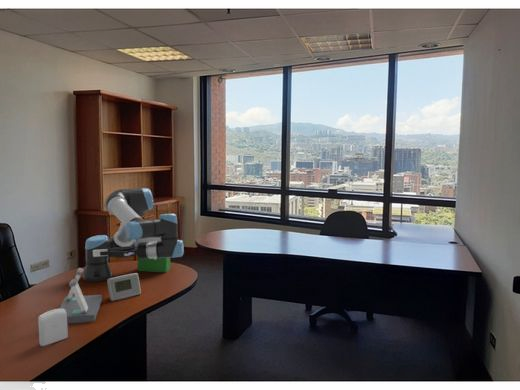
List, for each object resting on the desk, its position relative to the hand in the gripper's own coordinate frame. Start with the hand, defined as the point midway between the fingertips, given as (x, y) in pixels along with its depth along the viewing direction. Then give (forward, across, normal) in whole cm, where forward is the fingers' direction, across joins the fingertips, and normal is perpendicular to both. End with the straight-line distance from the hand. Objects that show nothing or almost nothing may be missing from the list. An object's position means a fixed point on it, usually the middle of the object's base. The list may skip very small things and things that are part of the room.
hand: (93, 253), depth 181 cm
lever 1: (+17, +10, -24) cm, 31 cm away
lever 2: (+4, -4, -25) cm, 25 cm away
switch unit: (+10, +4, -27) cm, 29 cm away
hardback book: (-12, +66, -27) cm, 73 cm away
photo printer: (+9, -24, -28) cm, 38 cm away
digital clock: (-6, +22, -28) cm, 36 cm away
